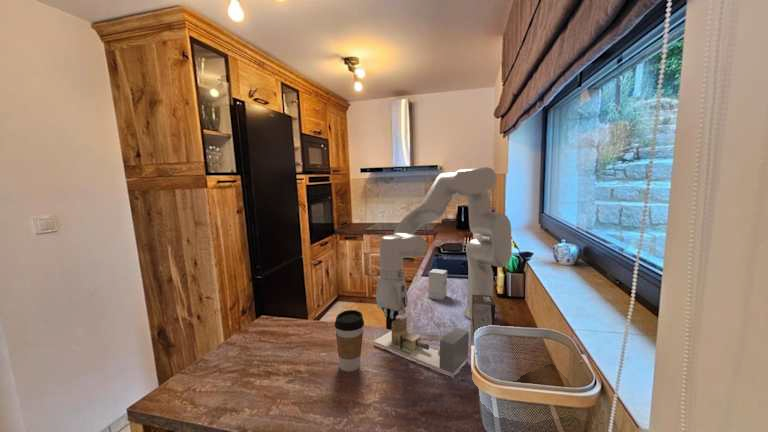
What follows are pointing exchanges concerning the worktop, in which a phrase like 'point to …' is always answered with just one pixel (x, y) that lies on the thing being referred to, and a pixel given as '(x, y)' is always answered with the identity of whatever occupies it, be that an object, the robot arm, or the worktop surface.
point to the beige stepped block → (405, 335)
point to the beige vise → (436, 351)
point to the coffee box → (482, 312)
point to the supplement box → (437, 284)
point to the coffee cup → (349, 339)
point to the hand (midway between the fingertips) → (391, 328)
